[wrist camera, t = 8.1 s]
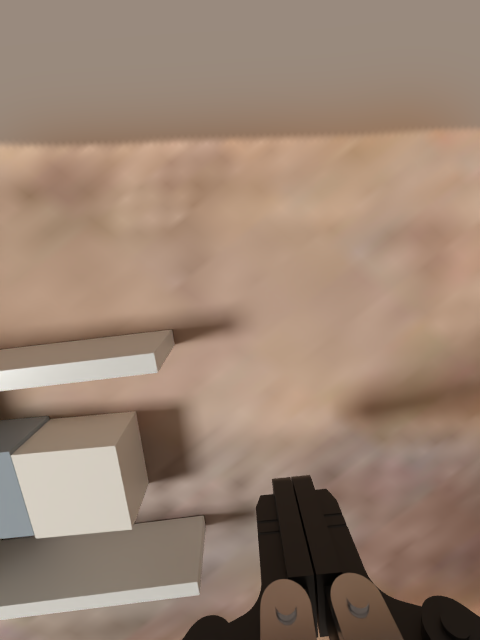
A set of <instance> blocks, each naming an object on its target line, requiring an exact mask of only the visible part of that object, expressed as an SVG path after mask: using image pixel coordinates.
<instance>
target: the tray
mask: <svg viewBox="0 0 480 640" xmlns="http://www.w3.org/2000/svg"><path fill="white" fill-rule="evenodd" d="M174 345H175V344H174V338H173V332H172V330H163V331H155V332H146V333H138V334H129V335H120V336H112V337H103V338H95V339H86V340H78V341H69V342H61V343H52V344H43V345H35V346H26V347H18V348H9V349H1V350H0V391H7V390H15V389H24V388H32V387H40V386H49V385H57V384H66V383H74V382H83V381H91V380H100V379H108V378H117V377H125V376H133V375H142V374H150V373H158V371H159V370H160V368H161V366H162V365H163V363H164V361H165V360H166V358H167V357H168V355H169V353H170V352H171V350H172V348H173V347H174ZM205 528H206V526H205V520H204V515H203V516H195V517H187V518H179V519H171V520H163V521H154V522H146V523H138V524H134V526H133V529H132V530H121V531H111V532H100V533H90V534H79V535H69V536H58V537H48V538H37V539H36V538H35V536H33V537H25V538H17V539H9V540H1V539H0V620H4V619H12V618H20V617H28V616H36V615H44V614H51V613H59V612H67V611H75V610H83V609H91V608H99V607H107V606H115V605H123V604H131V603H139V602H147V601H155V600H163V599H170V598H178V597H186V596H194V595H200V585H201V574H202V562H203V551H204V540H205Z"/></svg>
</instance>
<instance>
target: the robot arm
mask: <svg viewBox="0 0 480 640" xmlns="http://www.w3.org/2000/svg"><path fill="white" fill-rule="evenodd" d="M272 485H273V494H271V495H261V496H260V498H259V501H258V504H257V506H256V514H257V527H258V541H259V554H260V567H261V591H260V595H259V598H258V600H257V602H256V603H255V605H254V606H253V607H252V609H251V610H250V611H248V612H247V613H246V614H244V615H243V616H241V617H239V618H237V619H235V620H234V621H232V622H230V623H228V622H227V621H226V620H225V619H224V618H222V617H220V616H216V615H210V616H206V617H203V618H201V619H200V620H198V621H197V622H196V623H195V624H194V625H193V626H192V627H191V628H190V629H189V631H188V632H187V634H186V635H185V637H184V638H183V639H182V640H317V637H318V629H319V633H320V637H325V636H329V639H330V640H480V617H479V616H477V615H476V614H475V613H473V612H472V611H470V610H469V609H468V608H466V607H465V606H463V605H462V604H460V603H459V602H457V601H455V600H453V599H451V598H448V597H444V596H432V597H429V598H428V599H426V600H425V601H424V603H423V605H422V607H421V606H417V605H414V604H410V603H406V602H403V601H399V600H396V599H394V598H392V597H390V596H388V595H386V594H385V593H383V592H382V591H381V590H380V589H378V588H377V587H376V586H375V585H374V584H373V582H372V581H371V580H370V578H369V577H368V575H367V573H366V571H365V569H364V566H363V564H362V561H361V559H360V556H359V554H358V552H357V549H356V547H355V544H354V542H353V539H352V537H351V534H350V532H349V529H348V527H347V526H346V522H345V520H344V517H343V516H342V512H341V510H340V507H339V505H338V503H337V500H336V499H335V498H334V497H333V496H332V494H331V493H330V492H329V491H328V490H327V489H320V490H315V488H314V485H313V482H312V479H311V477H310V475H306V476H296V477H291V478H290V477H287V478H277V479H272ZM317 624H318V629H317Z"/></svg>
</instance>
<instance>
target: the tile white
mask: <svg viewBox="0 0 480 640" xmlns="http://www.w3.org/2000/svg"><path fill="white" fill-rule="evenodd" d="M11 458H12V461H13V465H14V468H15V471H16V475H17V478H18V481H19V485H20V488H21V491H22V495H23V498H24V501H25V505H26V508H27V511H28V515H29V518H30V521H31V525H32V528H33V531H34V535H35V538H36V539H37V538H48V537H58V536H69V535H79V534H90V533H100V532H111V531H121V530H132V529H133V526H134V523H135V520H136V517H137V515H138V512H139V509H140V506H141V503H142V501H143V498H144V495H145V492H146V489H147V487H148V484H149V482H148V476H147V470H146V465H145V459H144V454H143V448H142V443H141V437H140V431H139V426H138V420H137V415H136V411H133V412H122V413H111V414H100V415H89V416H78V417H67V418H56V419H50V420H49V421H48V422H47V423H45V424H44V425H43V426H42V427H41V428H40V429H39V430H38V431H37V432H36V433H35V434H33V435H32V436H31V437H30V438H29V439H28V440H27V441H26V442H25V443H24V444H23V445H21V446H20V447H19V448H18V449H17V450H16V451H15V452H14V453H13V454H12V455H11Z"/></svg>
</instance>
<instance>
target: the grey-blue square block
mask: <svg viewBox="0 0 480 640" xmlns="http://www.w3.org/2000/svg"><path fill="white" fill-rule="evenodd" d="M49 420H50V419H49V416H43V417H32V418H21V419H10V420H0V539H5V538H15V537H25V536H34V531H33V528H32V525H31V521H30V518H29V515H28V511H27V508H26V505H25V501H24V498H23V495H22V491H21V488H20V485H19V481H18V478H17V475H16V471H15V468H14V465H13V461H12V458H11V455H12V454H13V453H14V452H15V451H16V450H17V449H18V448H19V447H20V446H21V445H23V444H24V443H25V442H26V441H27V440H28V439H29V438H30V437H31V436H32V435H33V434H35V433H36V432H37V431H38V430H39V429H40V428H41V427H42V426H43V425H44V424H45V423H47V422H48V421H49Z"/></svg>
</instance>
